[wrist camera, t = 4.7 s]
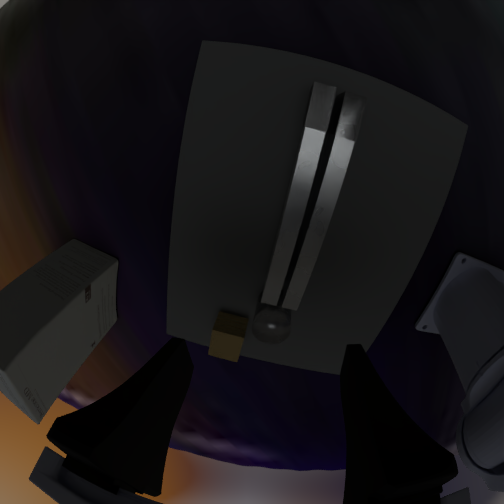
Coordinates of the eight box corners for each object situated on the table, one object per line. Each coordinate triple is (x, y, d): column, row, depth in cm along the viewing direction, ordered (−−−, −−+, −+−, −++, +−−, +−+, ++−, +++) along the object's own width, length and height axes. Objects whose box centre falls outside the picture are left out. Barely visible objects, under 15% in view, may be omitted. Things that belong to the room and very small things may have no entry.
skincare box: (118, 319, 26) (44, 430, 13) (75, 297, 26) (-3, 390, 12) (119, 253, 22) (4, 378, 9) (70, 231, 22) (-44, 327, 8)
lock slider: (248, 318, 21) (244, 338, 19) (241, 343, 23) (237, 362, 21) (219, 311, 21) (212, 329, 19) (214, 336, 23) (208, 354, 21)
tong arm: (329, 93, 13) (336, 87, 11) (279, 281, 19) (277, 306, 17) (310, 88, 13) (314, 81, 11) (264, 278, 20) (260, 302, 17)
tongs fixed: (355, 102, 13) (370, 98, 11) (286, 318, 21) (284, 347, 18) (313, 88, 13) (318, 81, 11) (254, 310, 21) (248, 338, 18)
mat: (461, 124, 13) (468, 125, 12) (348, 369, 24) (348, 375, 24) (206, 43, 13) (202, 40, 13) (169, 328, 25) (166, 333, 24)
